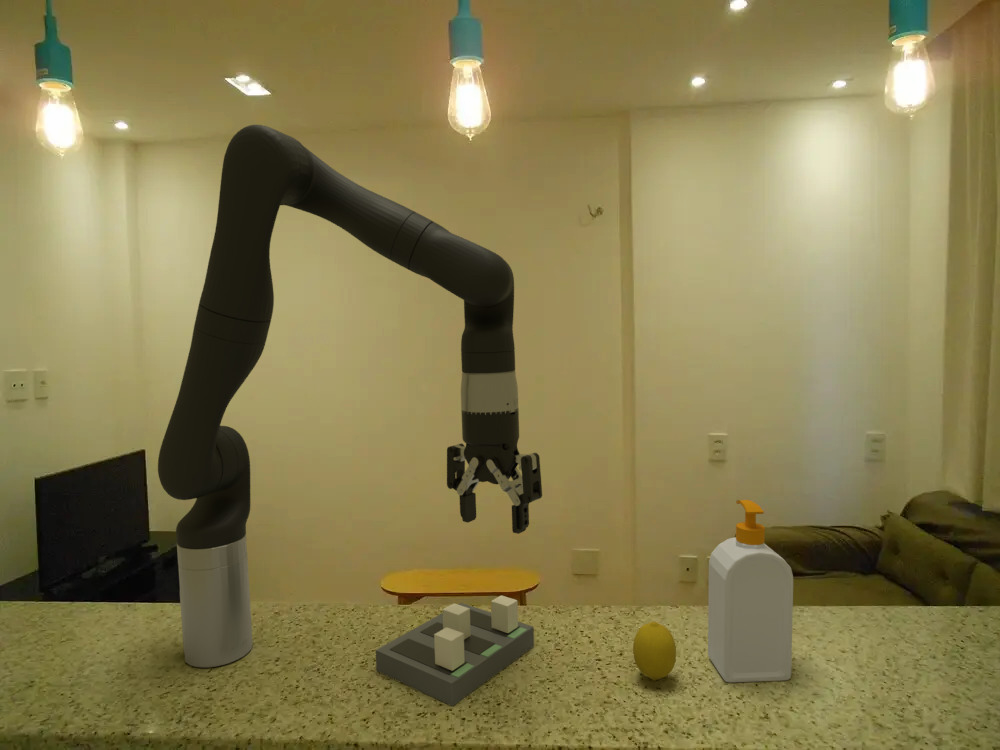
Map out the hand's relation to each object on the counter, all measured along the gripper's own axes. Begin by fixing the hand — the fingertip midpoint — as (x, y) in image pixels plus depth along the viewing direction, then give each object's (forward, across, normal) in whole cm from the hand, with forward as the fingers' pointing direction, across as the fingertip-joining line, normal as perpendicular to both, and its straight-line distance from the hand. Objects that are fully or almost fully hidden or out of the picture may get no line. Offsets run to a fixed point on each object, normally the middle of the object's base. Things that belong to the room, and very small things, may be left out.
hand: (493, 526), depth 87 cm
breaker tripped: (+17, -7, 0) cm, 19 cm away
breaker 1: (+17, -3, -6) cm, 19 cm away
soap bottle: (+21, +27, +21) cm, 40 cm away
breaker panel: (+20, -7, 0) cm, 22 cm away
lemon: (+21, +18, +11) cm, 30 cm away
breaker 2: (+17, -3, +6) cm, 18 cm away
